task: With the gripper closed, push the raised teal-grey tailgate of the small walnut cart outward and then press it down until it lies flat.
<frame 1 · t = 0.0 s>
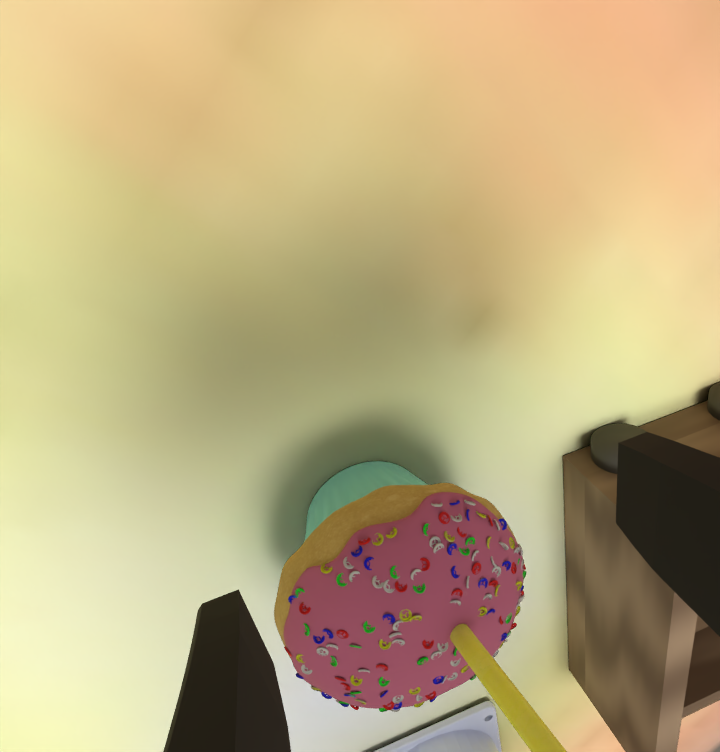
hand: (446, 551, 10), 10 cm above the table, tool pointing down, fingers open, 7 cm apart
cupcake: (364, 508, 23), on the table
cart bed: (650, 542, 29), on the table
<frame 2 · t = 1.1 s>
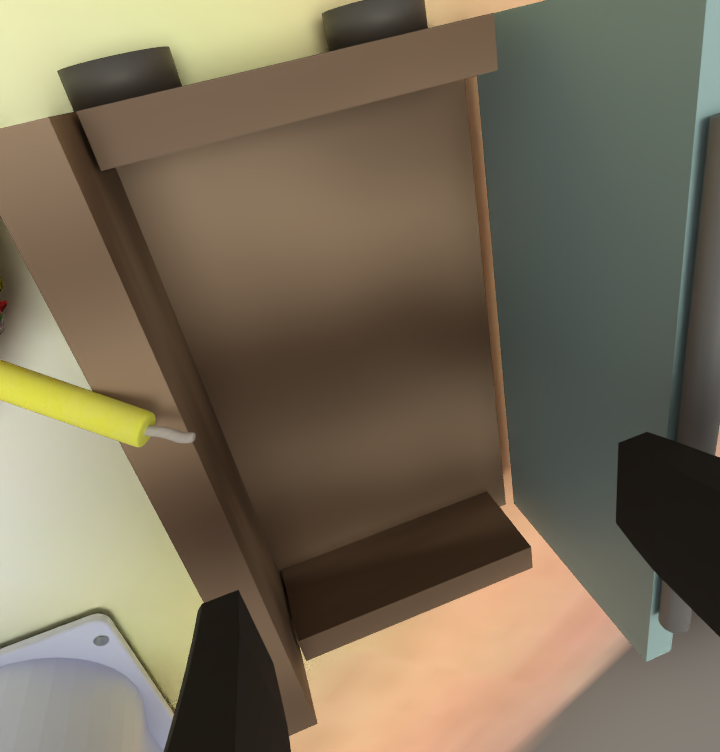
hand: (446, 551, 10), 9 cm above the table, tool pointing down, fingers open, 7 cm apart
tailgate: (587, 362, 14), point 5 cm above the table, hinge at 0.0°
cart bed: (325, 347, 18), on the table
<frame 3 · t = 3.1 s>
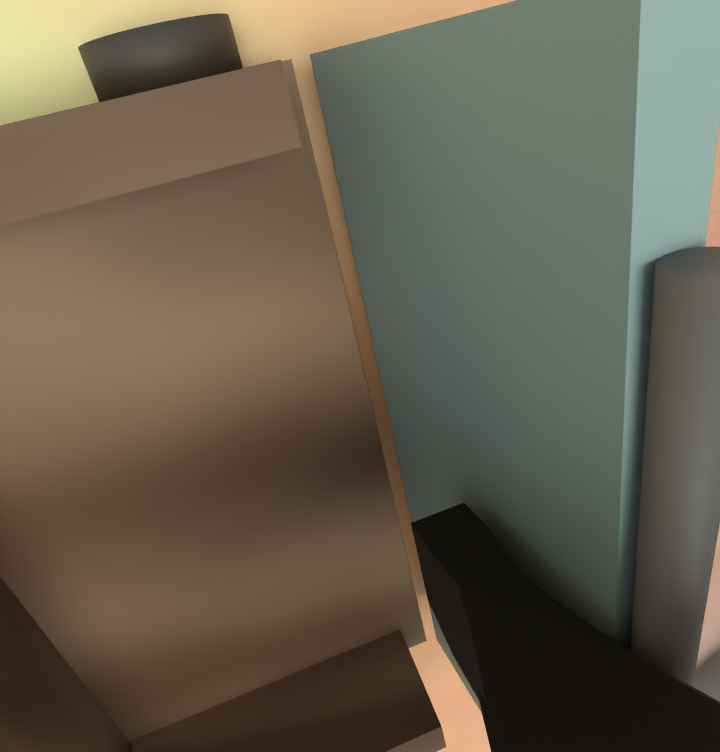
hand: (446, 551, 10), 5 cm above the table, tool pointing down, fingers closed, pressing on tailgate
tailgate: (500, 529, 10), point 5 cm above the table, hinge at 5.4°, touching gripper
cart bed: (171, 471, 14), on the table
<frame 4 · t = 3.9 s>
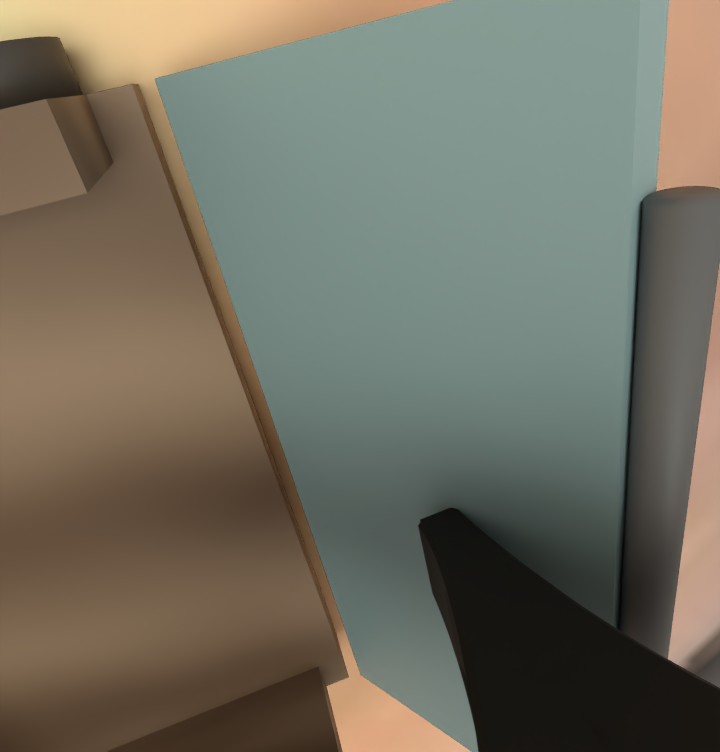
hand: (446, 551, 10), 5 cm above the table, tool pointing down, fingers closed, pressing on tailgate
tailgate: (445, 519, 10), point 5 cm above the table, hinge at 34.5°, touching gripper
cart bed: (61, 507, 13), on the table
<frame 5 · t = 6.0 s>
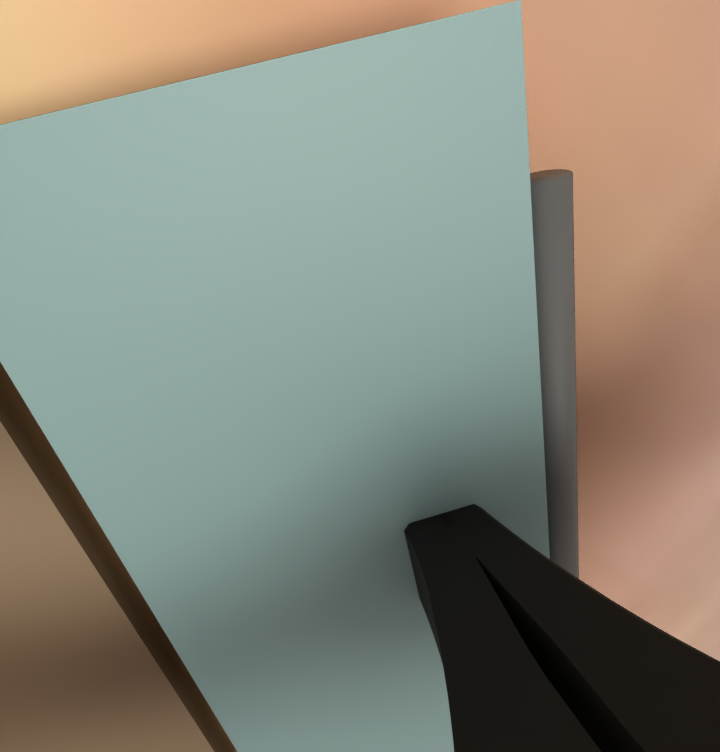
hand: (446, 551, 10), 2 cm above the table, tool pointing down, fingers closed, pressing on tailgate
tailgate: (372, 557, 10), point 2 cm above the table, hinge at 80.5°, touching gripper
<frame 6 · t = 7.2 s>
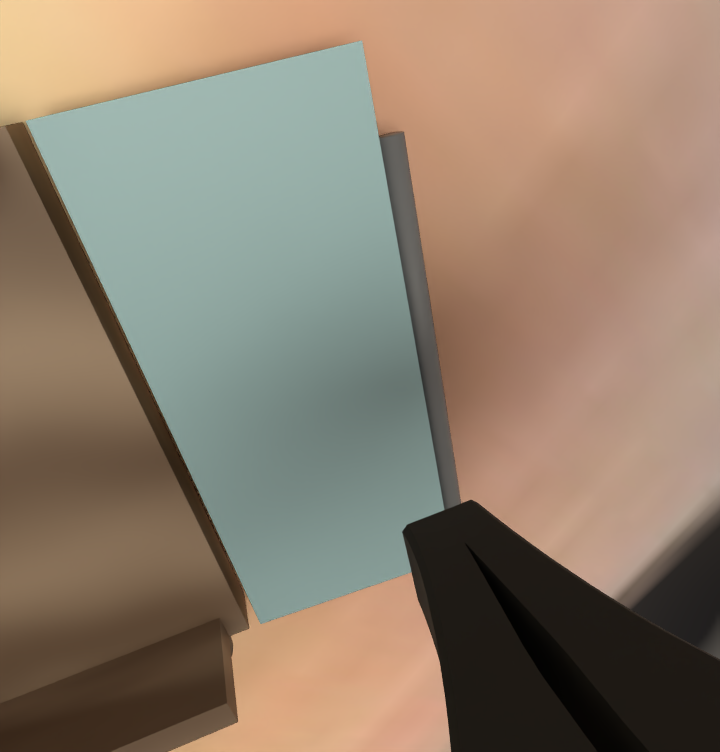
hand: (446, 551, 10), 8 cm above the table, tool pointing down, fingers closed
tailgate: (309, 390, 16), point 1 cm above the table, hinge at 86.5°
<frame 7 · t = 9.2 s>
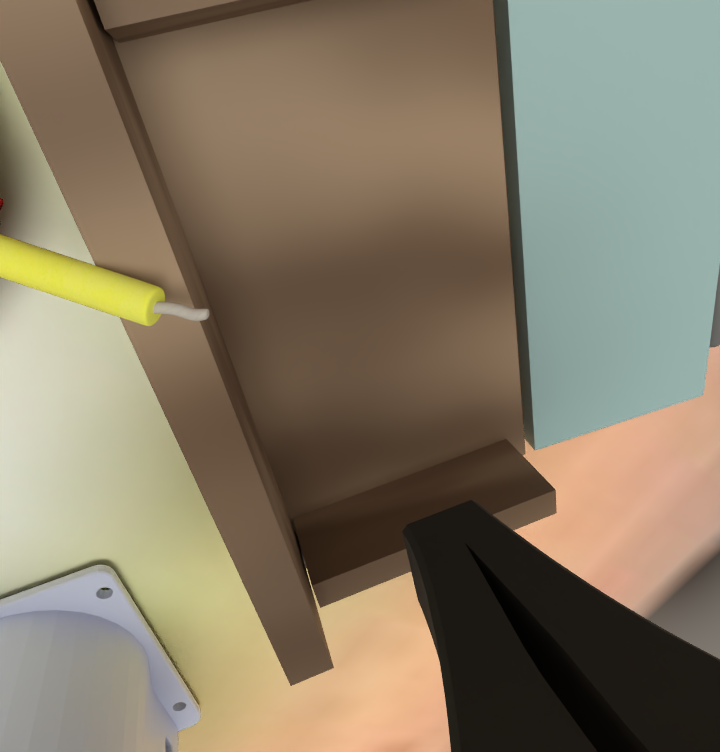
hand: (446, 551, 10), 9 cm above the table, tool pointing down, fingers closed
tailgate: (630, 206, 17), point 1 cm above the table, hinge at 86.5°
cart bed: (339, 279, 17), on the table
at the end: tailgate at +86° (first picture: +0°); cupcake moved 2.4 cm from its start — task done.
